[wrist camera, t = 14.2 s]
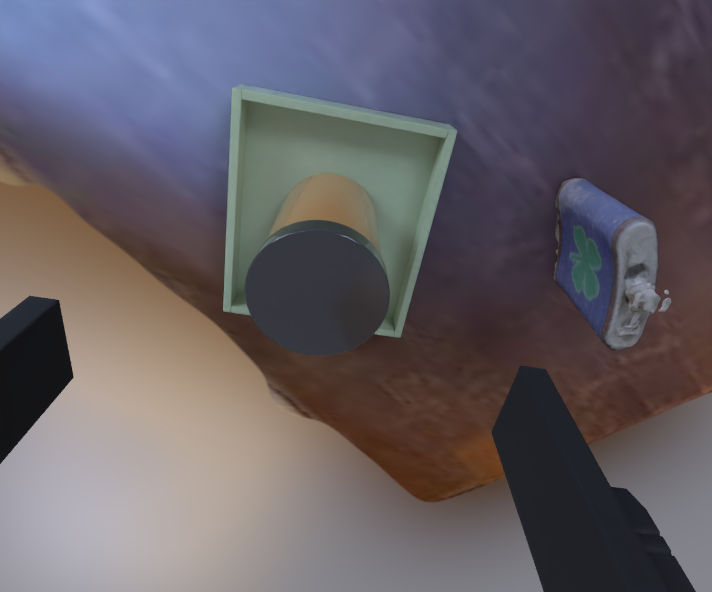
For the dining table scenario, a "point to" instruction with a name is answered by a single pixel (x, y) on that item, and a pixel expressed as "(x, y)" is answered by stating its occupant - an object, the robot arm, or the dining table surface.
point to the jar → (320, 269)
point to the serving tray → (337, 156)
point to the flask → (606, 262)
